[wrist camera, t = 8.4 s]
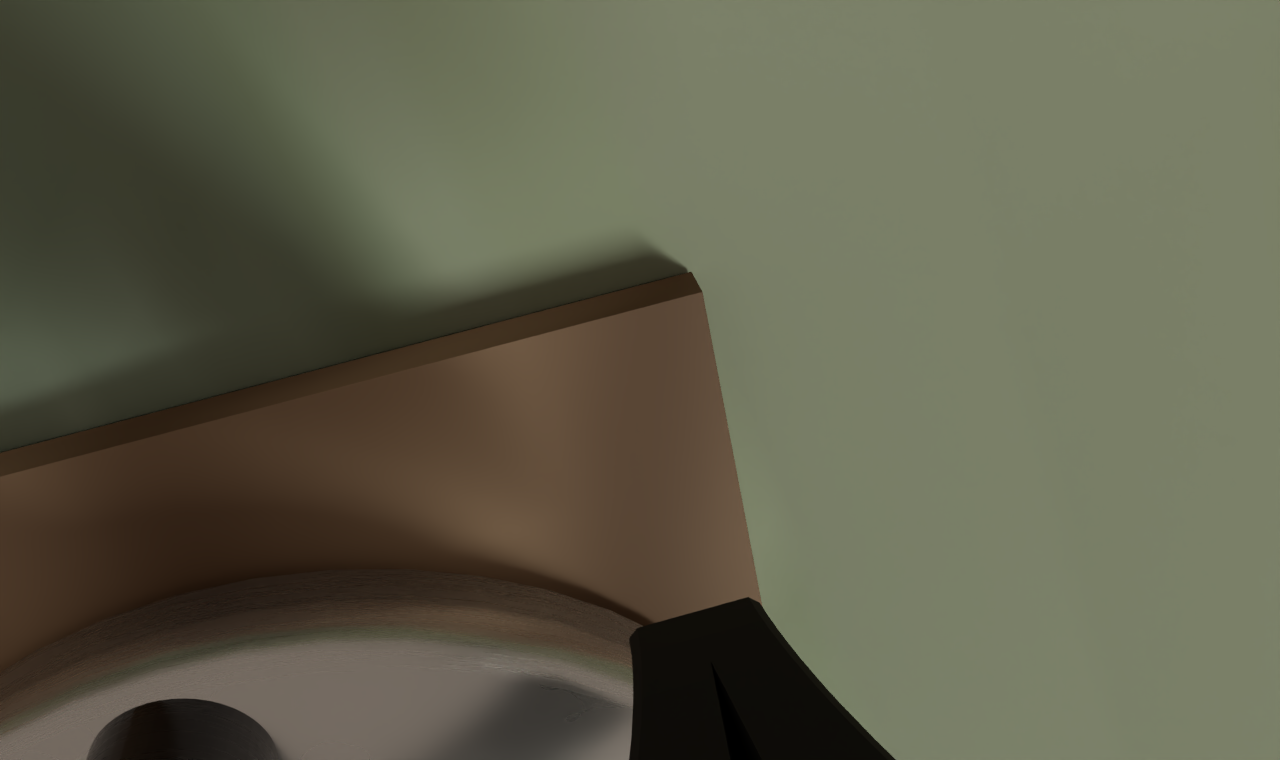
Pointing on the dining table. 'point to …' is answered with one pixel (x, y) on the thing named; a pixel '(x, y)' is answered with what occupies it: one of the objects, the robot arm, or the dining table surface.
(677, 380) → the base board
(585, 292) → the dining table surface
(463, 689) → the turntable
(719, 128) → the dining table surface
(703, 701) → the robot arm
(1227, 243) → the dining table surface
